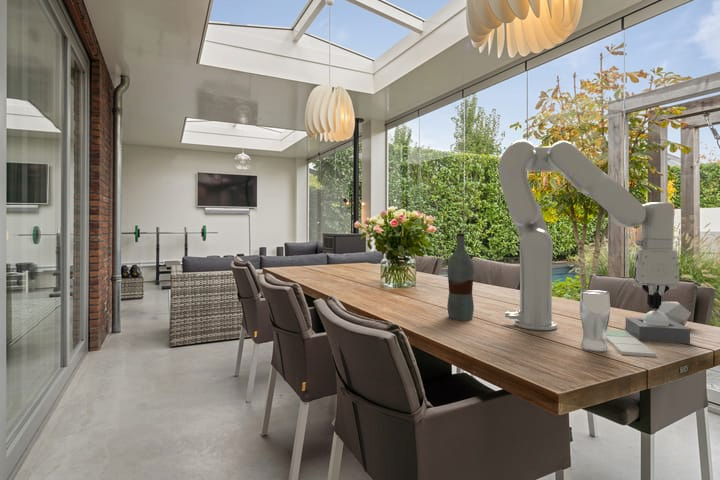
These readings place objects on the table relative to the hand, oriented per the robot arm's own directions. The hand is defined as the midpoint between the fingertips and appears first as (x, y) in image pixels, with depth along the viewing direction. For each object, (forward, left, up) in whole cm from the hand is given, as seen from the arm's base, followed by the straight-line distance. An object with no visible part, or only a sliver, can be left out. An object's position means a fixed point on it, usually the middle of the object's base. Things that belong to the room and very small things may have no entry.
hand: (653, 307), depth 119 cm
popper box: (+1, 0, -8) cm, 8 cm away
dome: (+1, 0, -7) cm, 7 cm away
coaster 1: (-10, -2, -8) cm, 14 cm away
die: (+11, +16, -9) cm, 21 cm away
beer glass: (-19, -18, -9) cm, 28 cm away
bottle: (-55, +10, -9) cm, 57 cm away
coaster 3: (-10, -18, -8) cm, 22 cm away
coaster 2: (-10, -10, -8) cm, 17 cm away
